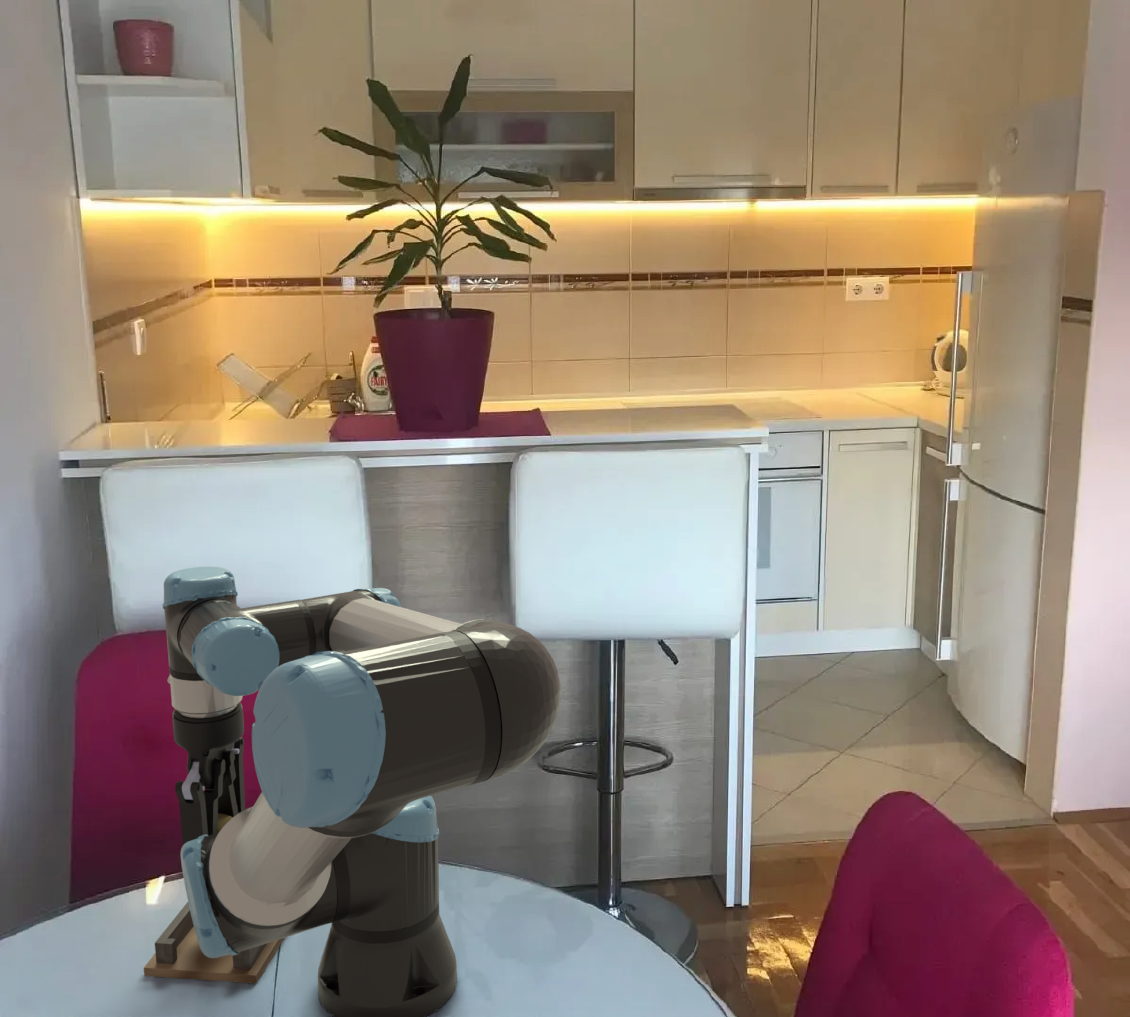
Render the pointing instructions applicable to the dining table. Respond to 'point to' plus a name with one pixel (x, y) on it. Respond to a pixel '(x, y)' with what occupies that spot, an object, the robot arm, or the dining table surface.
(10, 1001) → the dining table surface
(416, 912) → the robot arm
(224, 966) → the socket
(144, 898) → the dining table surface
